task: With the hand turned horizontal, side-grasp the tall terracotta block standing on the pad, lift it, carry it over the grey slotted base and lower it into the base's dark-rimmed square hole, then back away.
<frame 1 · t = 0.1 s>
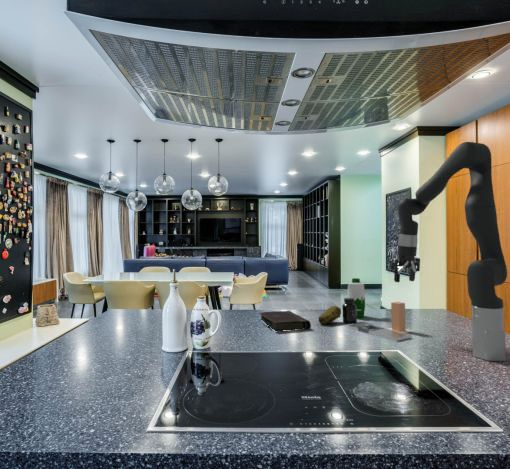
hand: (404, 281, 155), 22 cm above the kitchen island, tool pointing down, fingers open, 8 cm apart
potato: (329, 323, 175), on the kitchen island
diary: (282, 326, 173), on the kitchen island
supplement bottle: (349, 323, 175), on the kitchen island
green and white bottle: (356, 317, 188), on the kitchen island
grey slotted base: (377, 334, 152), on the kitchen island
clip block: (398, 330, 156), point 1 cm above the kitchen island, touching pad
pad: (398, 331, 156), on the kitchen island
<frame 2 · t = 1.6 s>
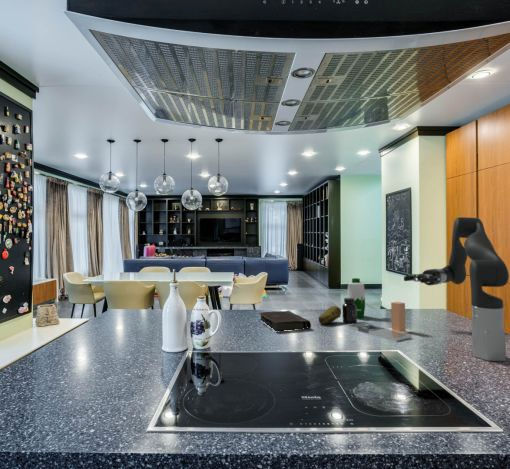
hand: (412, 279, 162), 22 cm above the kitchen island, tool horizontal, fingers open, 8 cm apart
nothing on the kitchen island moved.
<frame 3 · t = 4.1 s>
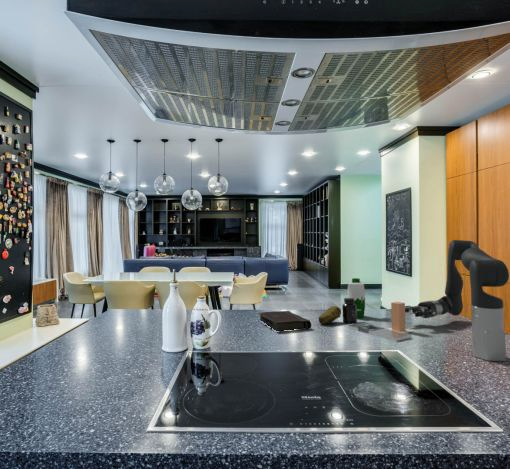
hand: (407, 312, 159), 8 cm above the kitchen island, tool horizontal, fingers open, 8 cm apart
nothing on the kitchen island moved.
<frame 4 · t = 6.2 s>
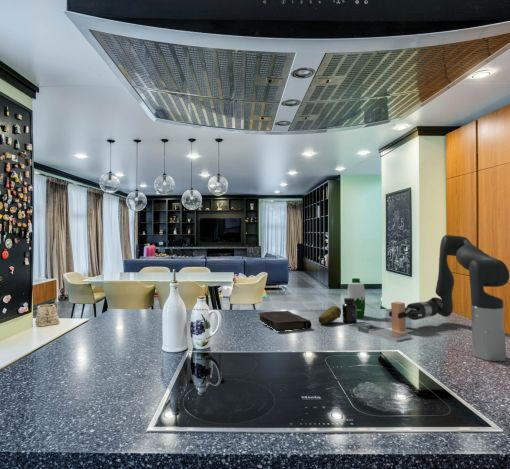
hand: (394, 314, 155), 8 cm above the kitchen island, tool horizontal, fingers closed on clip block, 4 cm apart
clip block: (398, 330, 156), point 1 cm above the kitchen island, touching gripper, pad
everything else where it was.
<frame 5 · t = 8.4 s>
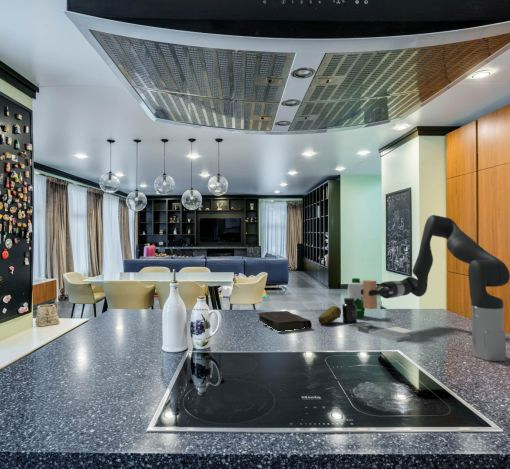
hand: (365, 292, 155), 18 cm above the kitchen island, tool horizontal, fingers closed on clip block, 4 cm apart
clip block: (370, 307, 156), point 11 cm above the kitchen island, touching gripper
everything else where it was.
when the fingers open (8 cm above the kitchen island, at t = 10.5 s): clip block drops 1 cm, resting in grey slotted base.
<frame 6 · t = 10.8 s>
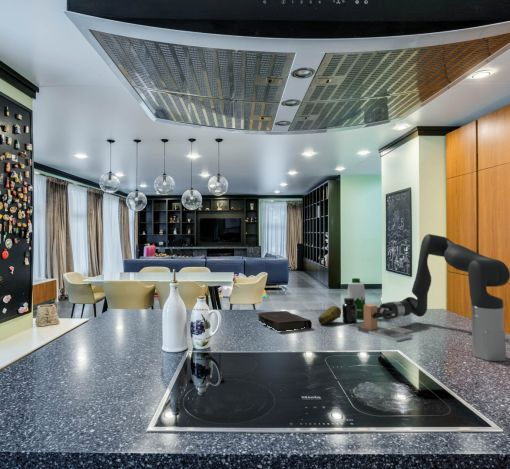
hand: (366, 314, 155), 8 cm above the kitchen island, tool horizontal, fingers open, 6 cm apart
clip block: (370, 332, 156), resting in grey slotted base
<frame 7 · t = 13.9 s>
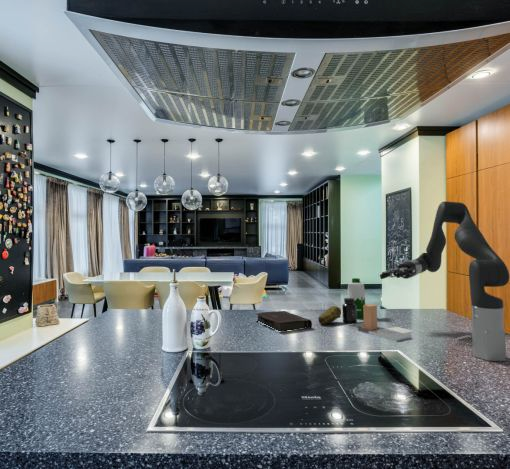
hand: (388, 276, 159), 24 cm above the kitchen island, tool horizontal, fingers open, 8 cm apart
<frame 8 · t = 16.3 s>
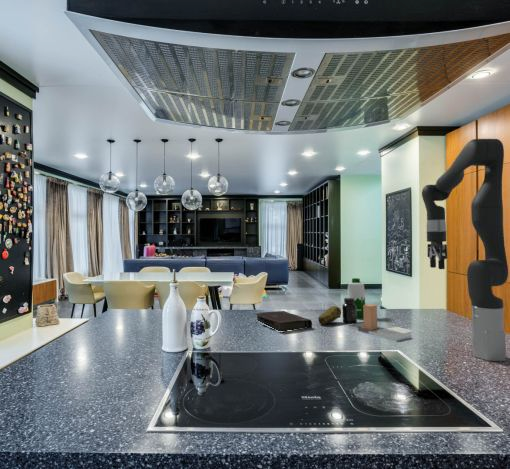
hand: (437, 268, 152), 28 cm above the kitchen island, tool pointing down, fingers open, 8 cm apart
at the end: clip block 0.1 cm from the target spot on the grey slotted base, point 0.0 cm above the grey slotted base's base; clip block tilted 0°; the gripper is holding nothing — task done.
